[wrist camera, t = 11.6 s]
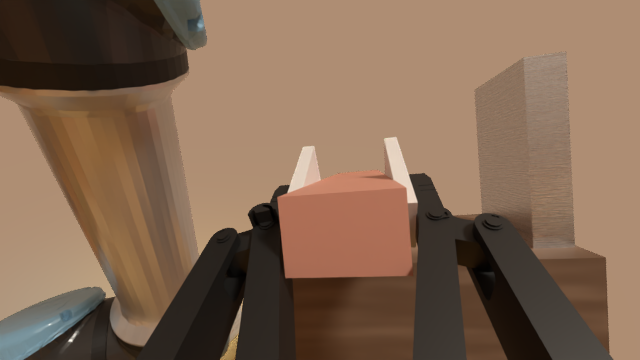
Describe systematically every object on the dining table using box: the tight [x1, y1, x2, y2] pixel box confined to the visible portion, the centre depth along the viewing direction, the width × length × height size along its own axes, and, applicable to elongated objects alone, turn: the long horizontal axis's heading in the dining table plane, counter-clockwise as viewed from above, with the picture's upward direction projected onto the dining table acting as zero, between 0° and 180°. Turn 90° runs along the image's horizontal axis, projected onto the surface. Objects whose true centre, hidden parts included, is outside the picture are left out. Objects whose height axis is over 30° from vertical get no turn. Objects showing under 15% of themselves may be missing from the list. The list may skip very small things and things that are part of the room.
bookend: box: [475, 52, 575, 249], centre depth 22 cm, size 8×2×13 cm, turn 170°
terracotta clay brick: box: [277, 170, 413, 278], centre depth 20 cm, size 22×4×3 cm, turn 170°
